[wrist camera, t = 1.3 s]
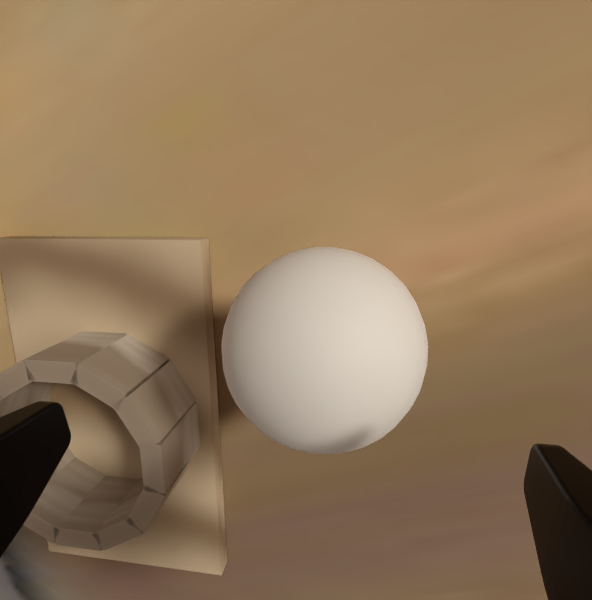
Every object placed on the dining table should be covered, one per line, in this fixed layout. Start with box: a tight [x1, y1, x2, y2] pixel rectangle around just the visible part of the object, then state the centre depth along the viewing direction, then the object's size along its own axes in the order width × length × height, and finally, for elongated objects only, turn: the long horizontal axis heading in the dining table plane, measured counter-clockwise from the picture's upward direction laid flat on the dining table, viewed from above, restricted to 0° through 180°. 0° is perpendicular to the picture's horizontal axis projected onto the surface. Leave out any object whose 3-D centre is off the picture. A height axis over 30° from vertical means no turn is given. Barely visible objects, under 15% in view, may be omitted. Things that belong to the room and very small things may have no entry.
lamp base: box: [0, 236, 227, 575], centre depth 22 cm, size 19×11×5 cm, turn 0°
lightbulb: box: [221, 247, 428, 454], centre depth 16 cm, size 6×6×11 cm
